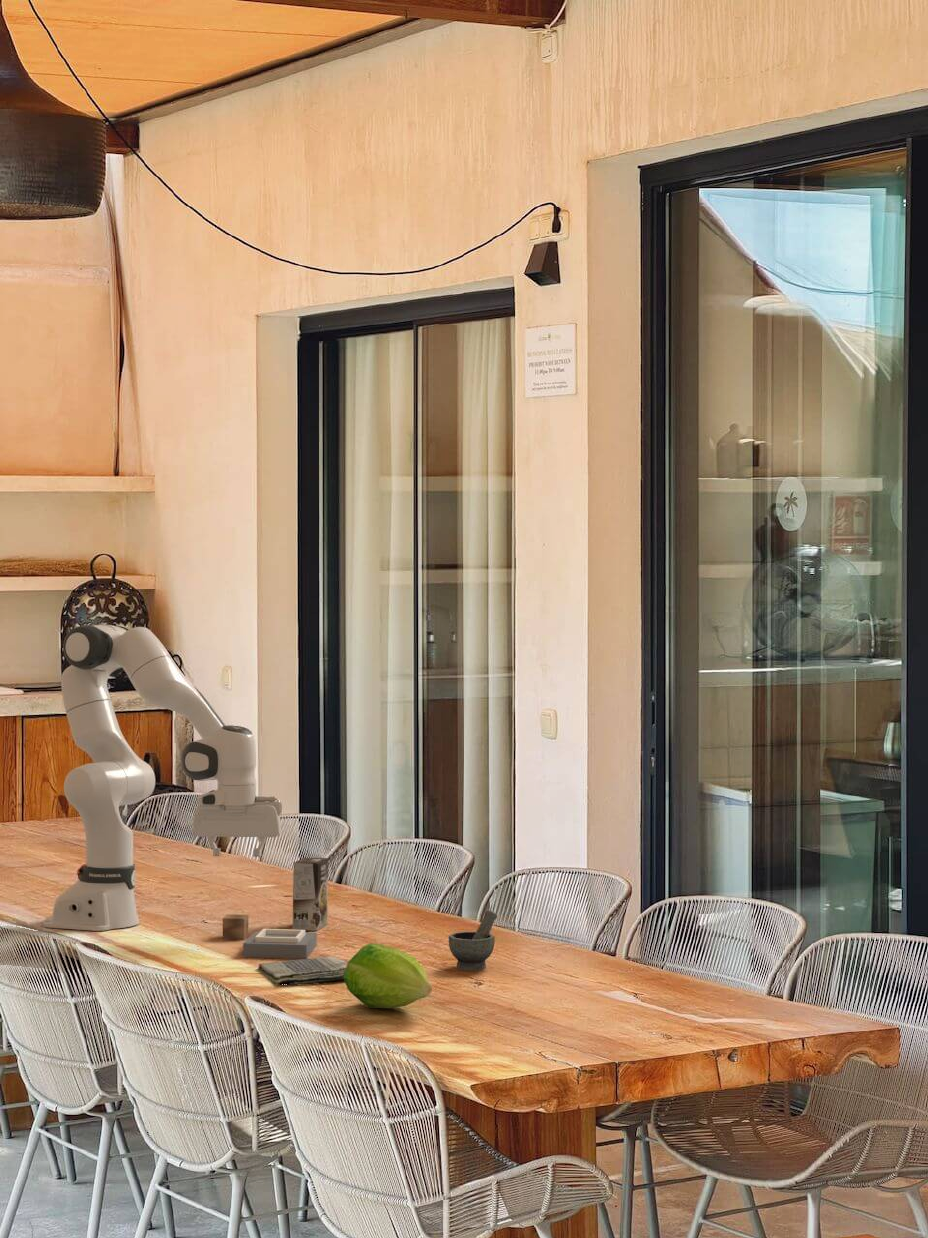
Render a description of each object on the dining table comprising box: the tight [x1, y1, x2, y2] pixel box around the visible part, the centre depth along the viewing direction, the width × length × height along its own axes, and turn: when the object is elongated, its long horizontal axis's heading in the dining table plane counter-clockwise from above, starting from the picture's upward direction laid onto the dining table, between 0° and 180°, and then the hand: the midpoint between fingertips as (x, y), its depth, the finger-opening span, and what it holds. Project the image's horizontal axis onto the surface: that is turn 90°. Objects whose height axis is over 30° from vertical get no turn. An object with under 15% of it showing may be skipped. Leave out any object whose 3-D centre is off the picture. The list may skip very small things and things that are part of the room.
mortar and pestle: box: [448, 909, 498, 972], centre depth 387 cm, size 11×9×12 cm
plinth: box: [242, 928, 318, 960], centre depth 401 cm, size 14×14×4 cm
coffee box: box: [291, 857, 329, 932], centre depth 430 cm, size 9×6×16 cm
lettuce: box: [344, 942, 433, 1009], centre depth 347 cm, size 14×20×12 cm
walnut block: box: [222, 913, 249, 941], centre depth 416 cm, size 5×5×5 cm
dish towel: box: [257, 956, 348, 987], centre depth 378 cm, size 19×18×3 cm
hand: (237, 856), depth 416 cm, fingers open, 8 cm apart
